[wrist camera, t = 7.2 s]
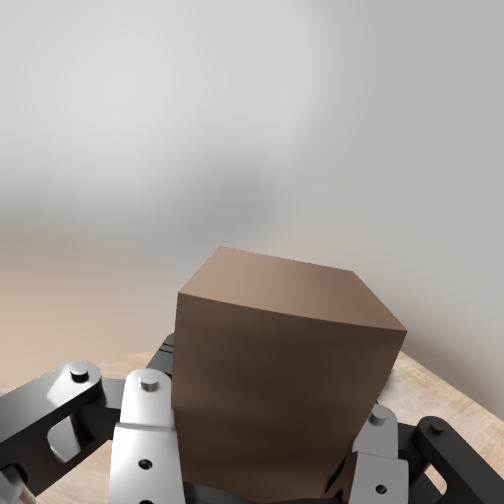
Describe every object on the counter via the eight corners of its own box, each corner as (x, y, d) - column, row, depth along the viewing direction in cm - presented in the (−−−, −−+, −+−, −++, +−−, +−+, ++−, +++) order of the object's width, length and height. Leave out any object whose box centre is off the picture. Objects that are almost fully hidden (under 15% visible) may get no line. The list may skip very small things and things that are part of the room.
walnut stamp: (112, 549, 6) (10, 303, 3) (164, 429, 15) (177, 226, 12) (323, 580, 6) (529, 384, 3) (312, 454, 14) (385, 266, 12)
